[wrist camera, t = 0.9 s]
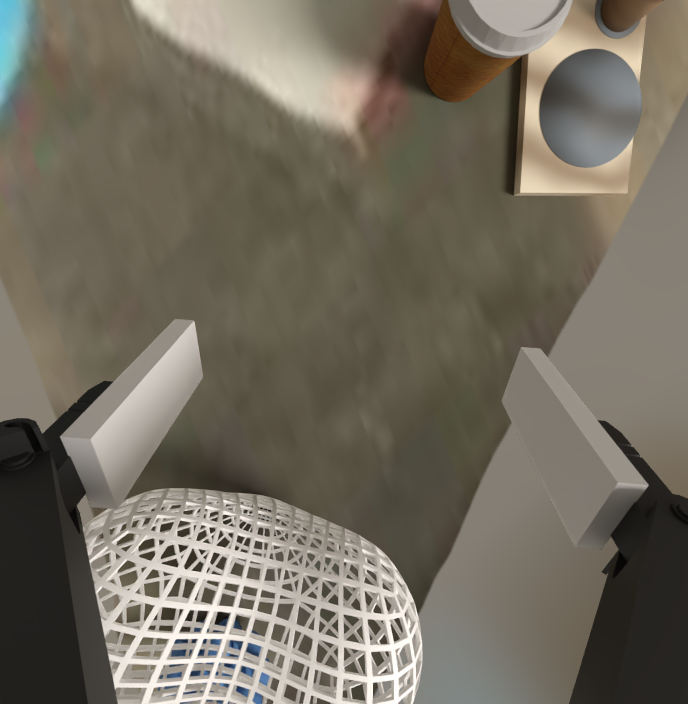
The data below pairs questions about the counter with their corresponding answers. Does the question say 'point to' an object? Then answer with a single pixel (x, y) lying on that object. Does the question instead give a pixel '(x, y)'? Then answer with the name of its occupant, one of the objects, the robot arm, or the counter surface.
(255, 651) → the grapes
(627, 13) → the walnut peg
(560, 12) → the disposable coffee cup
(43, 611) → the robot arm
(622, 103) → the board
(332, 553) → the heart
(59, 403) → the counter surface
